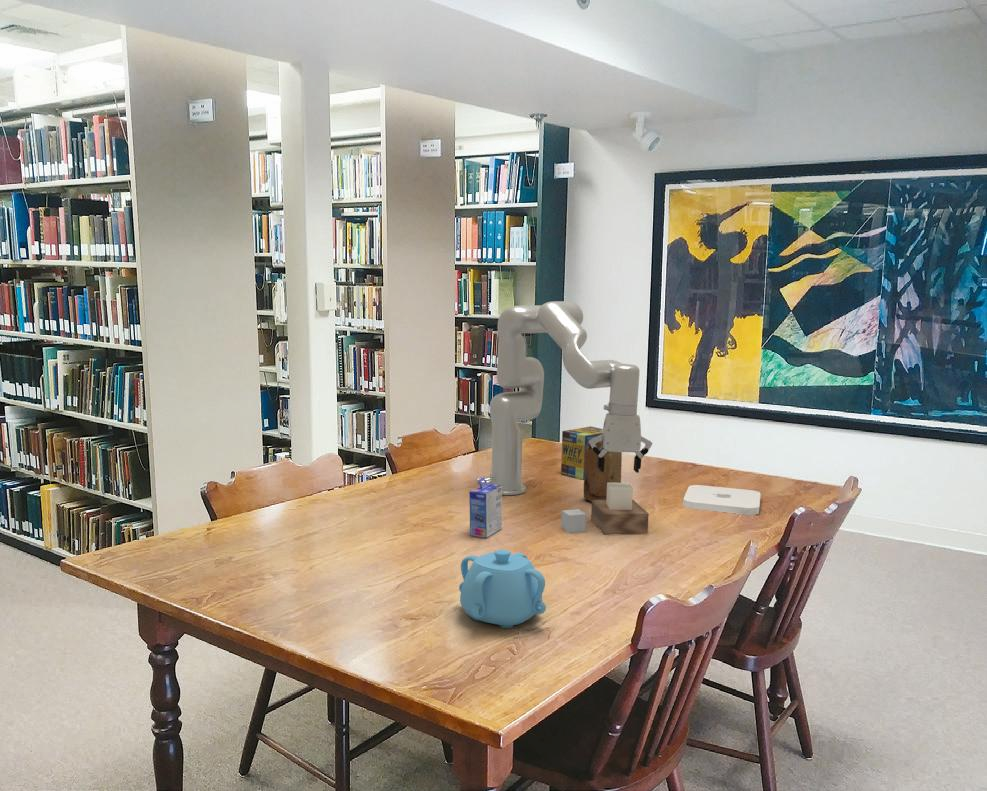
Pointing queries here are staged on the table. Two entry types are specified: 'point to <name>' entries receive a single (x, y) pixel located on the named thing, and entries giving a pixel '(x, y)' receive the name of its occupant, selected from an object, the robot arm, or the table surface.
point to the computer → (722, 499)
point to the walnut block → (619, 519)
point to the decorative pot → (501, 588)
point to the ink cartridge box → (485, 509)
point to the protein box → (576, 450)
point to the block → (600, 473)
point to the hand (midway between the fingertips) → (618, 471)
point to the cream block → (619, 496)
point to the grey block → (573, 521)
